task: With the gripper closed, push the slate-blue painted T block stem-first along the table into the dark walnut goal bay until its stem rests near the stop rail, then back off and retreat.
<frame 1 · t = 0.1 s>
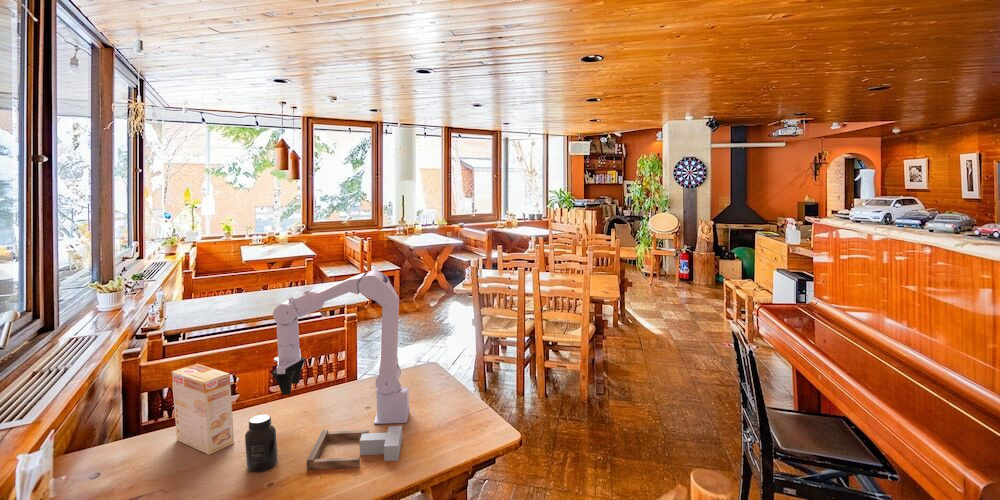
hand: (290, 388, 137), 10 cm above the table, fingers open, 7 cm apart
tee block: (380, 450, 124), on the table
goal bay: (338, 452, 123), on the table
coffeecake box: (205, 442, 127), on the table
supplement bottle: (262, 465, 117), on the table
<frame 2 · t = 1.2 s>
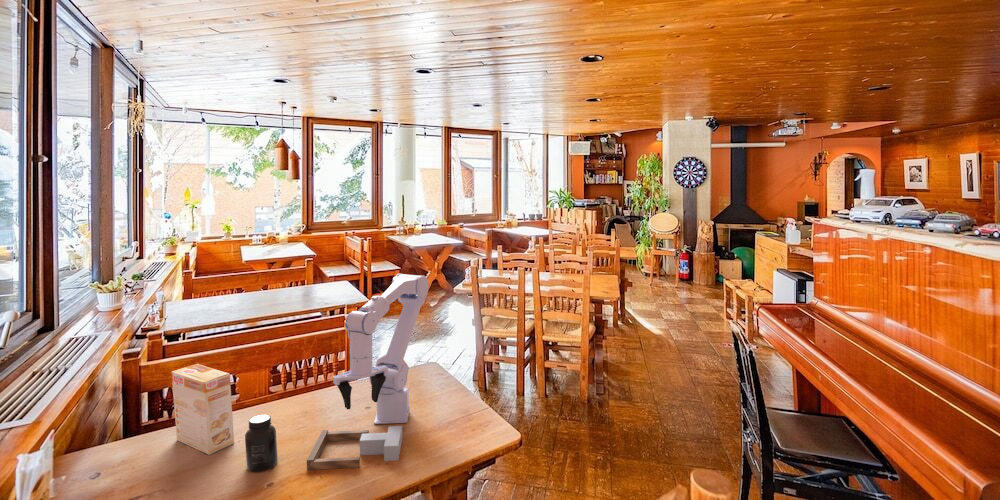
hand: (361, 404, 129), 10 cm above the table, fingers open, 7 cm apart
nothing on the table moved.
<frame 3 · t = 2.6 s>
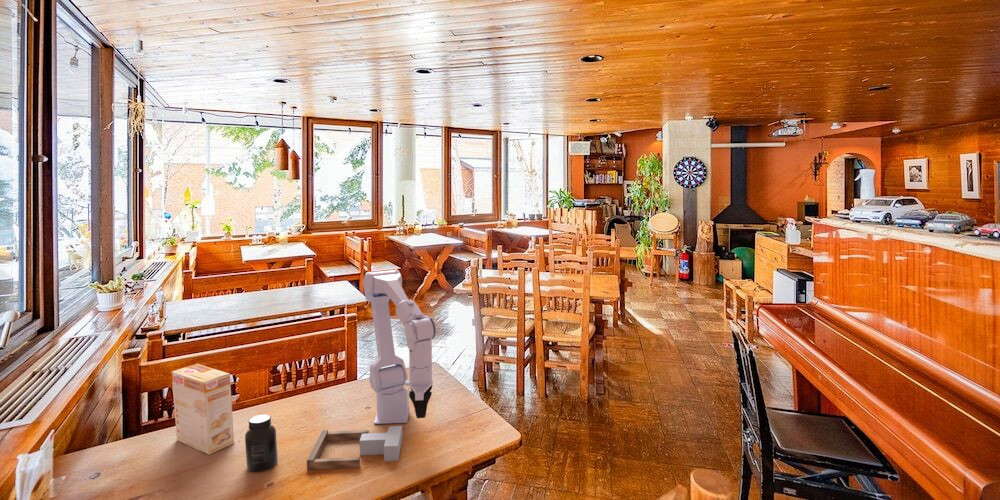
hand: (421, 414, 124), 9 cm above the table, fingers closed
nothing on the table moved.
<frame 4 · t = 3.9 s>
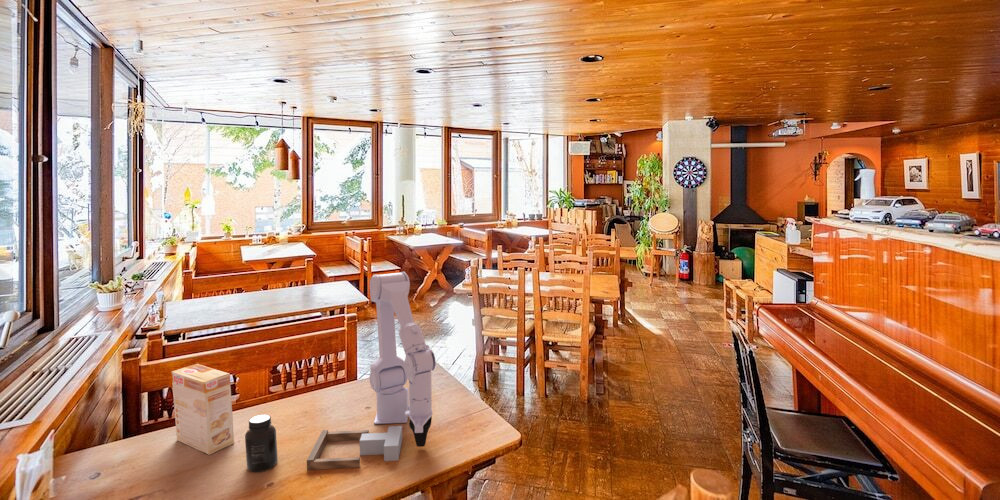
hand: (420, 445, 125), 1 cm above the table, fingers closed
nothing on the table moved.
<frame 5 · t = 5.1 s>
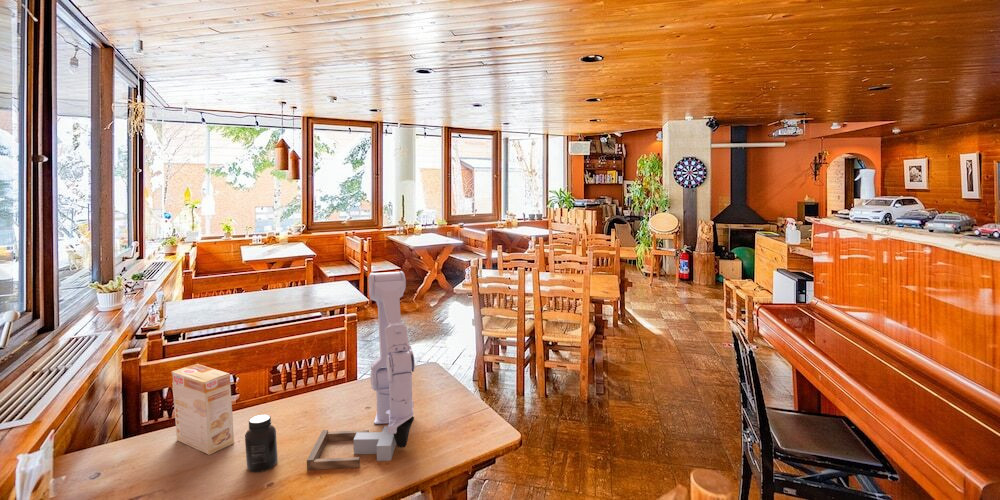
hand: (401, 445, 124), 1 cm above the table, fingers closed
tee block: (375, 450, 124), on the table, touching gripper
everything else where it was.
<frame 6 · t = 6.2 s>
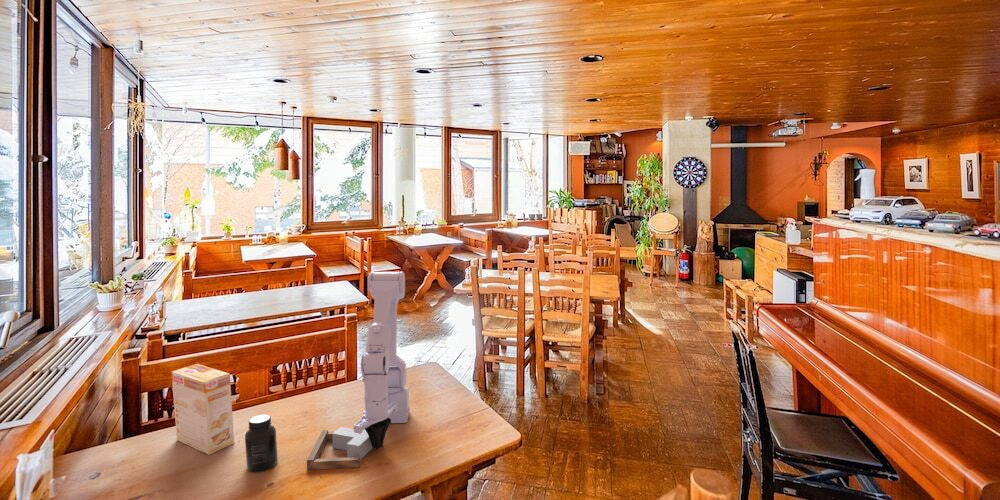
hand: (377, 447, 124), 1 cm above the table, fingers closed, pressing on tee block
tee block: (353, 447, 125), on the table, touching goal bay, gripper
everything else where it was.
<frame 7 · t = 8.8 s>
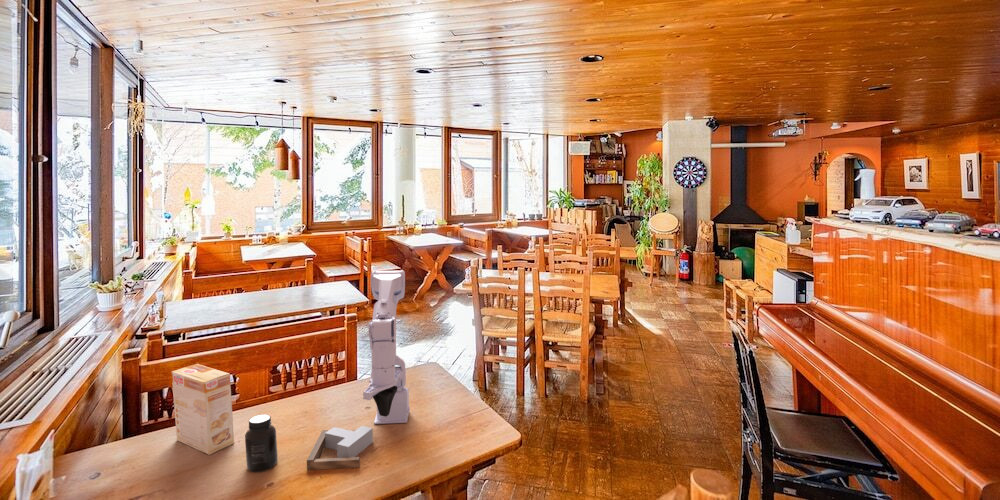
hand: (384, 414, 124), 9 cm above the table, fingers closed
tee block: (345, 447, 125), on the table
everything else where it was.
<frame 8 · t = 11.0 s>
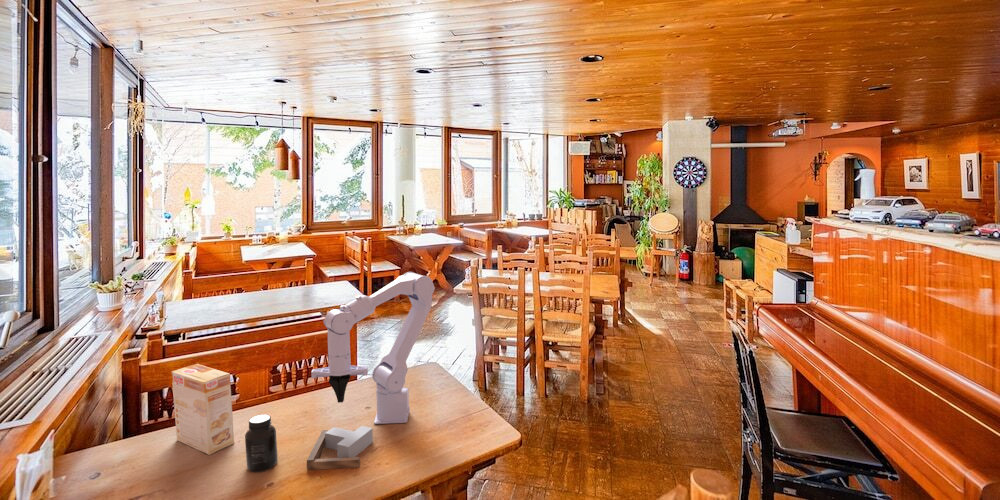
hand: (340, 400, 131), 9 cm above the table, fingers closed
nothing on the table moved.
at the end: tee block 2.2 cm from the target spot, on the table; tee block tilted 0°; tee block moved 9.7 cm from its start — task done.
